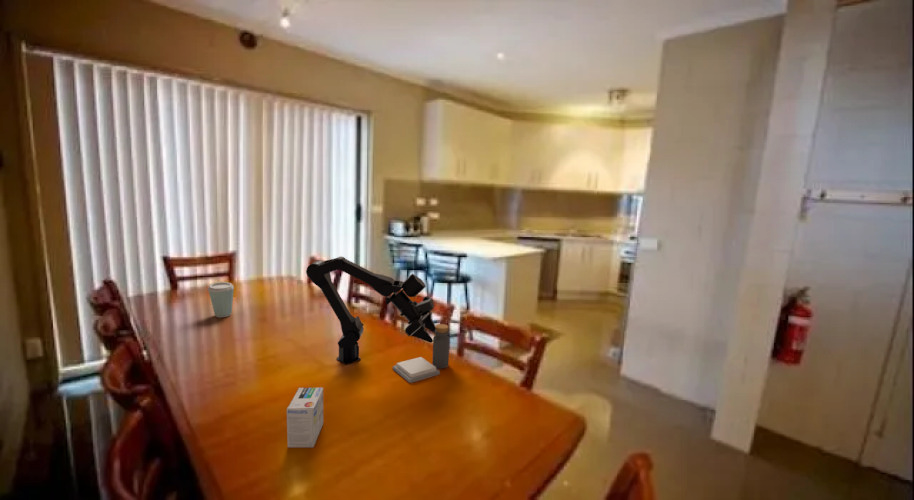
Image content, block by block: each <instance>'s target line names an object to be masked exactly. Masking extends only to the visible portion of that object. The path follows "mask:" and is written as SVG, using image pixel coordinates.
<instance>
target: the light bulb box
mask: <svg viewBox="0 0 914 500" xmlns="http://www.w3.org/2000/svg"><path fill="white" fill-rule="evenodd" d="M323 425H324V387H298V388H297V390H296V393H295V394H294V397H293V398H292V399H291V401H290V403H289V405H288V406H287V408H286V430H287V431H286V434H287V435H286V438H287V448H314V447H315V445H316V443H317V439H318V437H319V435H320V433H321V431H322V428H323Z"/></svg>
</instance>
